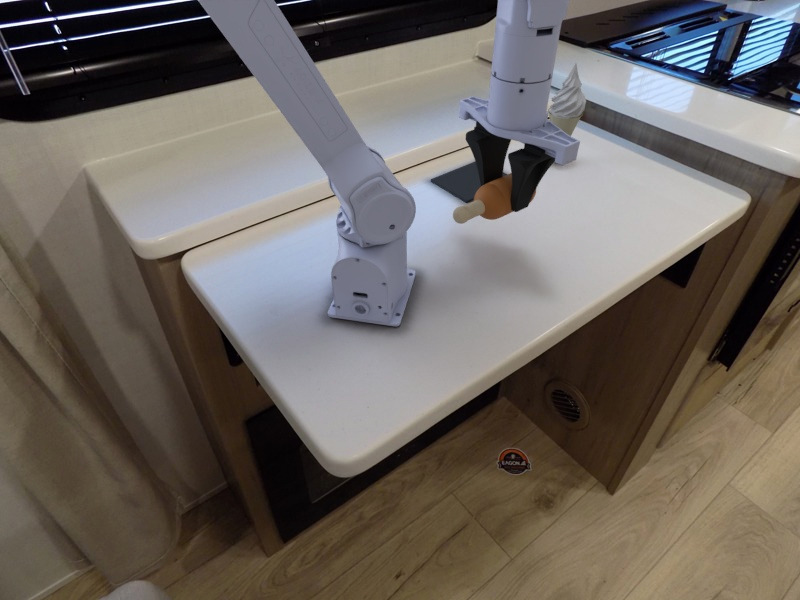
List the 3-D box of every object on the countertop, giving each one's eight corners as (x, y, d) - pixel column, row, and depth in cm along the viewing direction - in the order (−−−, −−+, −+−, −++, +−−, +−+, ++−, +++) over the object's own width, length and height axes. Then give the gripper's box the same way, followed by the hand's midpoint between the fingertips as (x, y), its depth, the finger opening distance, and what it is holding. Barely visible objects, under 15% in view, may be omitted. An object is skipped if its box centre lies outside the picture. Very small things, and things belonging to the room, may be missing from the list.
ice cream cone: (575, 170, 81) (598, 68, 71) (542, 170, 81) (560, 68, 72) (568, 155, 85) (589, 57, 75) (536, 155, 85) (553, 57, 75)
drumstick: (466, 242, 55) (469, 209, 53) (441, 225, 58) (443, 193, 55) (540, 206, 60) (546, 175, 58) (515, 192, 63) (519, 161, 60)
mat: (466, 203, 74) (467, 200, 74) (430, 181, 79) (430, 179, 79) (516, 181, 79) (516, 178, 79) (478, 162, 84) (479, 159, 84)
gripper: (612, 84, 47) (580, 215, 56) (497, 47, 56) (485, 165, 65) (560, 103, 44) (535, 238, 53) (446, 61, 53) (441, 182, 62)
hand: (504, 199), depth 59 cm, fingers closed on drumstick, 4 cm apart
